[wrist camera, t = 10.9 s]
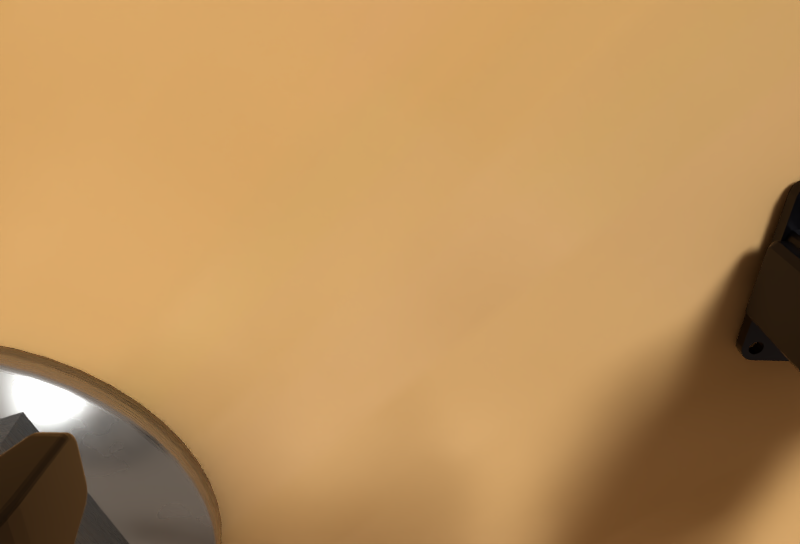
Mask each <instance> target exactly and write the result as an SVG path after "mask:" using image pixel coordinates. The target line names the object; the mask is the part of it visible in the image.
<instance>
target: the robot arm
mask: <svg viewBox="0 0 800 544" xmlns="http://www.w3.org/2000/svg"><path fill="white" fill-rule="evenodd" d="M755 342H757V343H756V345H754V346H753V347H750V346H751V345H752V344H753V343H755ZM736 347H737V350H738V351H739V352H740V353H741V354H742V356H743V357H745V358H746V359H749V360H772V361H790V362H791V363H792V364H793V365H794V366H795V367H796V368H797V369H798V371H799V372H800V181H798V182H797V183H796V184H795V185H793V186H792V188H791V190H790V192H789V194H788V197H787V200H786V203H785V205H784V208H783V211H782V214H781V217H780V219H779V222H778V225H777V228H776V231H775V234H774V236H773V239H772V242H771V245H770V246H769V247H768V249H767V252H766V254H765V257H764V260H763V263H762V266H761V269H760V271H759V274H758V277H757V280H756V283H755V286H754V288H753V291H752V294H751V297H750V300H749V303H748V305H747V308H746V315H745V318H744V321H743V324H742V327H741V330H740V332H739V335H738V338H737V341H736ZM86 500H87V483H86V478H85V474H84V470H83V465H82V461H81V457H80V453H79V448H78V444H77V441H76V439H75V437H74V436H73V435H72V434H70V433H67V432H37V433H33V434H31V435H29V436H27V437H26V438H24V439H23V440H22V441H20V442H19V443H17V444H16V445H14V446H13V447H12V448H10V449H9V450H7V451H6V452H4V453H3V454H1V455H0V544H74V543H75V539H76V536H77V532H78V529H79V526H80V522H81V519H82V516H83V512H84V509H85V505H86Z"/></svg>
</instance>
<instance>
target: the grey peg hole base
mask: <svg viewBox="0 0 800 544" xmlns="http://www.w3.org/2000/svg"><path fill="white" fill-rule="evenodd" d="M37 432H67V433H70V434H72V435H73V436H74V437H75V439H76V441H77V444H78V448H79V453H80V457H81V461H82V465H83V470H84V474H85V478H86V483H87V500H86V505H85V509H84V512H83V516H82V519H81V522H80V526H79V529H78V532H77V536H76V539H75V543H74V544H221V519H220V513H219V508H218V503H217V500H216V497H215V495H214V492H213V489H212V487H211V484H210V482H209V480H208V478H207V477H206V475H205V473H204V471H203V470H202V468H201V466H200V464H199V462H198V461H197V460H196V458H195V457H194V456H193V455H192V453H191V452H190V451H189V449H188V448H187V447H186V446H185V444H184V443H183V442H182V441H181V440H180V439H179V438H178V437H177V436H176V435H175V434H174V433H173V432H172V431H171V430H170V429H169V428H168V427H167V426H166V425H165V424H164V423H163V422H162V421H161V420H160V419H159V418H157V417H156V416H155V415H153V414H152V413H151V412H150V411H148V410H147V409H146V408H145V407H143V406H142V405H141V404H140V403H138V402H137V401H135V400H133V399H132V398H130V397H129V396H127V395H125V394H124V393H122V392H121V391H119V390H117V389H116V388H114V387H113V386H111V385H109V384H107V383H105V382H103V381H101V380H99V379H97V378H95V377H93V376H91V375H89V374H87V373H85V372H83V371H81V370H78V369H76V368H73V367H70V366H68V365H65V364H63V363H60V362H57V361H55V360H52V359H49V358H46V357H43V356H39V355H36V354H32V353H28V352H25V351H21V350H18V349H14V348H9V347H3V346H0V455H1V454H3V453H4V452H6V451H7V450H9V449H10V448H12V447H13V446H14V445H16V444H17V443H19V442H20V441H22V440H23V439H24V438H26V437H27V436H29V435H31V434H33V433H37Z"/></svg>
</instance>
